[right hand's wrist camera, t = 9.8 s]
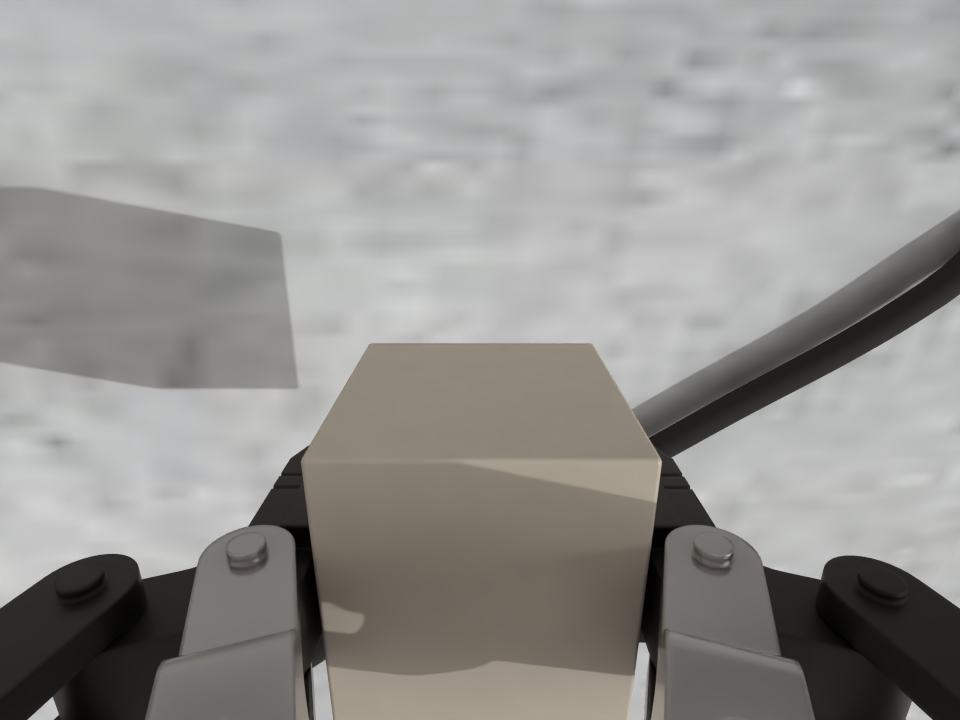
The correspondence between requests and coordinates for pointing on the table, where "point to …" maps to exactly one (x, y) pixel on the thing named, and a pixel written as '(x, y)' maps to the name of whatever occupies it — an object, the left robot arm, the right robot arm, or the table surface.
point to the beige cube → (481, 534)
